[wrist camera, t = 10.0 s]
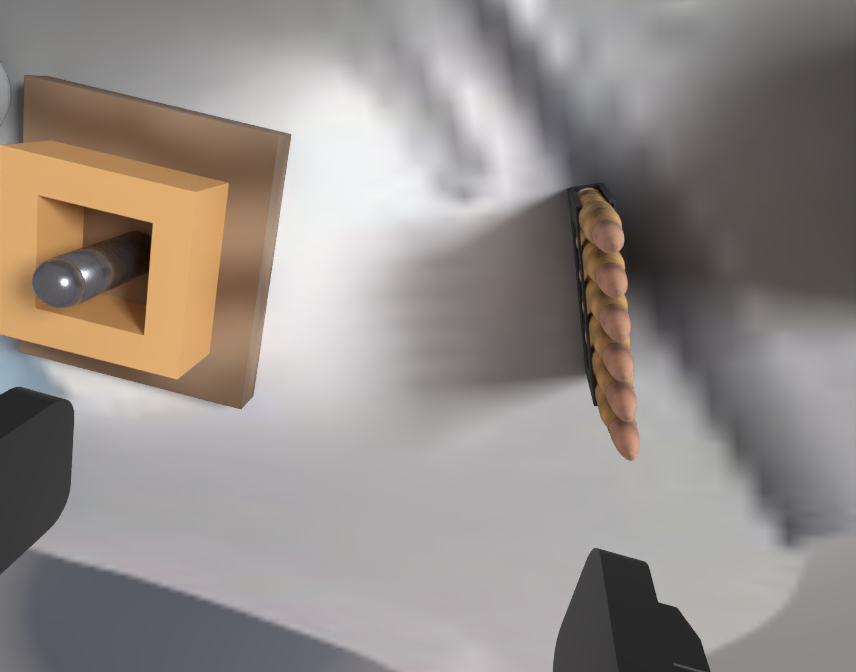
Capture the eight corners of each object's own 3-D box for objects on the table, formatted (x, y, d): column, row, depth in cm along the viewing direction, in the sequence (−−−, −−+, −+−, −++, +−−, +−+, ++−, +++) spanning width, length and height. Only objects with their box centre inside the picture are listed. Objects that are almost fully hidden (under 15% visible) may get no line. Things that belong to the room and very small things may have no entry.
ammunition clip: (619, 371, 40) (656, 477, 29) (585, 374, 40) (610, 480, 29) (603, 182, 37) (639, 218, 25) (567, 187, 37) (587, 225, 26)
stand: (48, 76, 39) (-109, 68, 29) (291, 134, 38) (212, 145, 28) (40, 340, 44) (-94, 407, 34) (253, 395, 43) (176, 479, 34)
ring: (51, 140, 38) (-1, 144, 34) (228, 182, 37) (195, 192, 33) (47, 312, 41) (-1, 333, 37) (209, 353, 41) (177, 379, 37)
